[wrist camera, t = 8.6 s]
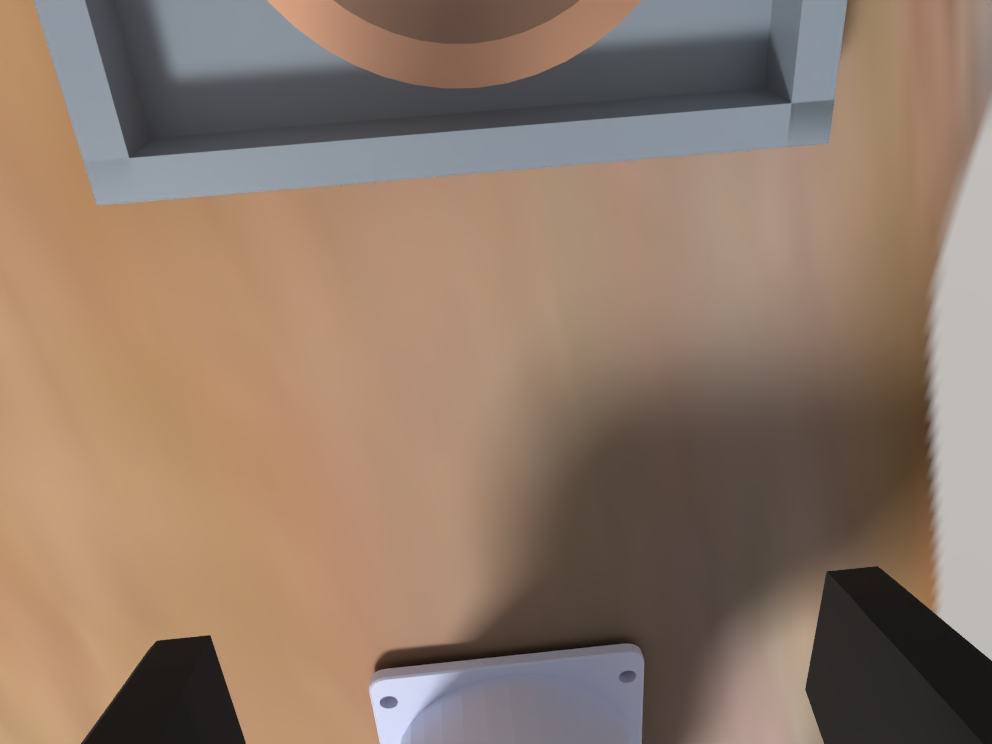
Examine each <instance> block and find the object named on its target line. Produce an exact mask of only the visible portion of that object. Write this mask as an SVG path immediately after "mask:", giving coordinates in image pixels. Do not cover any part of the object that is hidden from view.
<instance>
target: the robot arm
mask: <svg viewBox="0 0 992 744" xmlns="http://www.w3.org/2000/svg"><path fill="white" fill-rule="evenodd" d="M624 671H627V672H624ZM643 688H644V658H643V655H642V651H641V649H640V648H639V647H638V646H636V645H634V644H626V643H625V644H615V645H606V646H596V647H587V648H577V649H568V650H558V651H549V652H539V653H530V654H520V655H511V656H502V657H492V658H483V659H473V660H464V661H454V662H445V663H435V664H426V665H416V666H407V667H397V668H388V669H382V670H379V671H377V672H375V673H374V674H373V675H372V676H371V678H370V688H369V692H370V697H371V702H372V707H373V712H374V717H375V722H376V727H377V732H378V737H379V742H380V744H642V717H643ZM805 690H806V693H807V696H808V698H809V701H810V704H811V707H812V710H813V713H814V716H815V719H816V721H817V724H818V727H819V730H820V733H821V736H822V739H823V741H824V744H992V661H991V660H990V659H989V658H988V657H986V656H985V655H984V654H983V653H981V652H980V651H979V650H978V649H977V648H975V647H974V646H973V645H972V644H971V643H969V642H968V641H967V640H966V639H965V638H963V637H962V636H961V635H960V634H959V633H957V632H956V631H955V630H954V629H952V628H951V627H950V626H949V625H948V624H946V623H945V622H944V621H943V620H942V619H941V618H939V617H938V616H937V615H936V614H935V613H933V612H932V611H931V610H930V609H929V608H927V607H926V606H925V605H924V604H923V603H921V602H920V601H919V600H918V599H917V598H915V597H914V596H913V595H912V594H911V593H909V592H908V591H907V590H906V589H905V588H903V587H902V586H901V585H900V584H899V583H897V582H896V581H895V580H894V579H893V578H891V577H890V576H889V575H888V574H886V573H885V572H884V571H883V570H881V569H880V568H879V567H878V566H876V567H866V568H856V569H847V570H837V571H827V573H826V578H825V584H824V589H823V595H822V600H821V606H820V611H819V617H818V622H817V628H816V633H815V639H814V644H813V650H812V655H811V661H810V666H809V672H808V678H807V683H806V689H805ZM387 696H392V697H387ZM81 744H246V743H245V740H244V736H243V733H242V730H241V727H240V724H239V721H238V718H237V715H236V712H235V709H234V706H233V703H232V700H231V697H230V694H229V691H228V688H227V685H226V682H225V679H224V676H223V673H222V670H221V667H220V664H219V661H218V658H217V655H216V651H215V648H214V645H213V642H212V639H211V636H210V635H209V636H199V637H189V638H180V639H170V640H160V641H156V642H155V643H154V645H153V646H152V647H151V648H150V649H149V650H148V652H147V653H146V654H145V656H144V657H143V659H142V660H141V661H140V663H139V664H138V666H137V667H136V668H135V670H134V671H133V672H132V674H131V675H130V677H129V678H128V679H127V681H126V682H125V684H124V685H123V686H122V688H121V689H120V691H119V692H118V693H117V695H116V696H115V698H114V699H113V700H112V702H111V703H110V705H109V706H108V707H107V709H106V710H105V712H104V713H103V714H102V716H101V717H100V719H99V720H98V721H97V723H96V724H95V725H94V727H93V728H92V729H91V731H90V732H89V734H88V735H87V736H86V738H85V739H84V740H83V742H82V743H81Z"/></svg>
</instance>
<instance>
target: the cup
mask: <svg viewBox="0 0 992 744" xmlns="http://www.w3.org/2000/svg"><path fill="white" fill-rule="evenodd" d="M267 1H268V2H269V3H270V4H271V5H272V6H273V7H274V8H275V9H276V10H277V11H278V12H279V13H281V14H282V15H283V16H284V17H285V18H286V19H287V20H288V21H289V22H290V23H291V24H292V25H293V26H294V27H296V28H297V29H298V30H300V31H301V32H302V33H304V34H305V35H306V36H308V37H309V38H310V39H312V40H313V41H315V42H316V43H317V44H319V45H320V46H321V47H323V48H324V49H326V50H328V51H330V52H331V53H333V54H335V55H337V56H339V57H340V58H342V59H344V60H346V61H348V62H349V63H351V64H353V65H355V66H358V67H360V68H363V69H365V70H368V71H370V72H373V73H375V74H378V75H380V76H383V77H386V78H390V79H394V80H398V81H402V82H406V83H409V84H413V85H421V86H429V87H438V88H479V87H485V86H492V85H499V84H505V83H509V82H513V81H516V80H520V79H523V78H526V77H530V76H533V75H537V74H539V73H541V72H543V71H546V70H548V69H550V68H552V67H555V66H557V65H559V64H561V63H564V62H566V61H567V60H569V59H571V58H572V57H574V56H576V55H577V54H579V53H581V52H582V51H584V50H585V49H587V48H589V47H590V46H592V45H594V44H595V43H596V42H597V41H599V40H600V39H601V38H602V37H604V36H605V35H606V34H607V33H609V32H610V31H611V30H612V29H614V28H615V27H616V26H617V25H619V24H620V23H621V22H622V21H623V20H624V19H625V18H626V17H627V16H628V14H629V13H630V12H631V11H632V10H633V9H634V8H635V7H636V6H637V5H638V4H639V3H640V2H641V1H642V0H267Z"/></svg>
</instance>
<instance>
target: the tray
mask: <svg viewBox="0 0 992 744" xmlns="http://www.w3.org/2000/svg"><path fill="white" fill-rule="evenodd" d="M34 2H35V5H36V9H37V12H38V15H39V18H40V22H41V25H42V28H43V31H44V35H45V38H46V41H47V44H48V48H49V51H50V54H51V57H52V61H53V64H54V67H55V70H56V74H57V77H58V80H59V83H60V87H61V90H62V93H63V96H64V100H65V103H66V106H67V109H68V113H69V116H70V119H71V122H72V126H73V129H74V132H75V135H76V139H77V142H78V145H79V148H80V152H81V155H82V158H83V161H84V165H85V168H86V171H87V174H88V178H89V181H90V184H91V187H92V191H93V194H94V197H95V200H96V204H97V205H107V204H119V203H131V202H143V201H154V200H166V199H178V198H190V197H202V196H213V195H225V194H237V193H249V192H261V191H273V190H284V189H296V188H308V187H320V186H332V185H343V184H355V183H367V182H379V181H391V180H402V179H414V178H426V177H438V176H450V175H461V174H473V173H485V172H497V171H509V170H520V169H532V168H544V167H556V166H568V165H579V164H591V163H603V162H615V161H627V160H638V159H650V158H662V157H674V156H686V155H698V154H709V153H721V152H733V151H745V150H757V149H768V148H780V147H792V146H804V145H816V144H827V143H829V136H830V129H831V121H832V114H833V106H834V98H835V91H836V83H837V76H838V68H839V60H840V53H841V45H842V38H843V30H844V22H845V15H846V7H847V0H642V1H641V2H640V3H639V4H638V5H637V6H636V7H635V8H634V9H633V10H632V11H631V12H630V13H629V14H628V16H627V17H626V18H625V19H624V20H623V21H622V22H621V23H620V24H619V25H617V26H616V27H615V28H614V29H612V30H611V31H610V32H609V33H607V34H606V35H605V36H604V37H602V38H601V39H600V40H599V41H597V42H596V43H595V44H594V45H592V46H590V47H589V48H587V49H585V50H584V51H582V52H581V53H579V54H577V55H576V56H574V57H572V58H571V59H569V60H567V61H566V62H564V63H561V64H559V65H557V66H555V67H552V68H550V69H548V70H546V71H543V72H541V73H539V74H537V75H533V76H530V77H526V78H523V79H520V80H516V81H513V82H509V83H505V84H499V85H492V86H485V87H479V88H438V87H429V86H421V85H413V84H409V83H406V82H402V81H398V80H394V79H390V78H386V77H383V76H380V75H378V74H375V73H373V72H370V71H368V70H365V69H363V68H360V67H358V66H355V65H353V64H351V63H349V62H348V61H346V60H344V59H342V58H340V57H339V56H337V55H335V54H333V53H331V52H330V51H328V50H326V49H324V48H323V47H321V46H320V45H319V44H317V43H316V42H315V41H313V40H312V39H310V38H309V37H308V36H306V35H305V34H304V33H302V32H301V31H300V30H298V29H297V28H296V27H294V26H293V25H292V24H291V23H290V22H289V21H288V20H287V19H286V18H285V17H284V16H283V15H282V14H281V13H279V12H278V11H277V10H276V9H275V8H274V7H273V6H272V5H271V4H270V3H269V2H268V1H267V0H34Z"/></svg>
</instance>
